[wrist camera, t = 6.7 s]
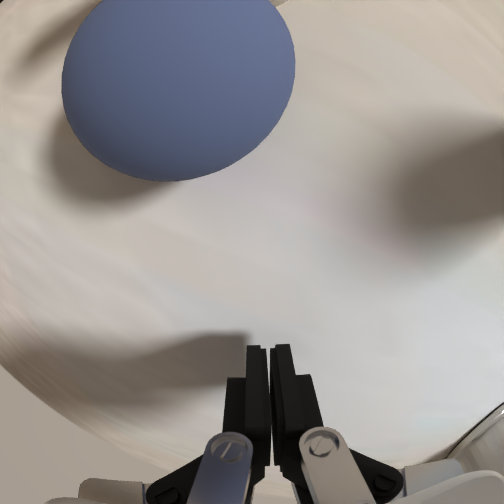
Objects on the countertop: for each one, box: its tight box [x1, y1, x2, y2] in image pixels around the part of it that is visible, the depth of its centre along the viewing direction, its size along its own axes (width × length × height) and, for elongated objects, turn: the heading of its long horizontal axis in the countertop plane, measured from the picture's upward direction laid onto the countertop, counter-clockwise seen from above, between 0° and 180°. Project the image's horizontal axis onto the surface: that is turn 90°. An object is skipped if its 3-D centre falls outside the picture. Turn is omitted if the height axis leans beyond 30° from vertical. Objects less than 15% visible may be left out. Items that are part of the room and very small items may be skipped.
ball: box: [62, 0, 295, 181], centre depth 6 cm, size 6×6×6 cm
